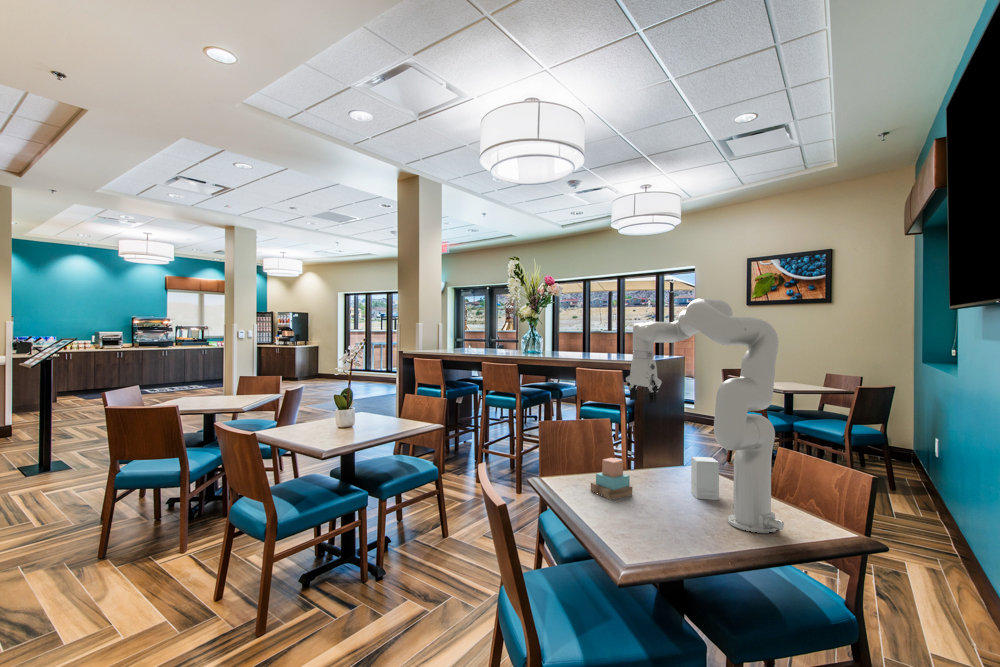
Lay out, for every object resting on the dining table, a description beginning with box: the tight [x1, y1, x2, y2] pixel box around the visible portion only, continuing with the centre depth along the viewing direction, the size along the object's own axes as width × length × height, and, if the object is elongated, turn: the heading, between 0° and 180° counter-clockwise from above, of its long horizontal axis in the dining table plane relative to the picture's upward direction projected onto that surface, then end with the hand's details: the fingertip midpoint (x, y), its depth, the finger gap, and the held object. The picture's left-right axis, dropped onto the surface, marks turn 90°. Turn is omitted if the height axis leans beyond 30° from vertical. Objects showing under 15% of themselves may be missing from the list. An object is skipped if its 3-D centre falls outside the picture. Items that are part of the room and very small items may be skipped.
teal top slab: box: [595, 472, 631, 490], centre depth 162 cm, size 8×8×4 cm
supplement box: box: [690, 456, 720, 501], centre depth 160 cm, size 7×7×13 cm
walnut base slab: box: [590, 481, 633, 500], centre depth 162 cm, size 10×10×4 cm
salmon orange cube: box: [601, 457, 624, 477], centre depth 162 cm, size 5×5×5 cm
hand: (642, 401), depth 176 cm, fingers open, 9 cm apart
